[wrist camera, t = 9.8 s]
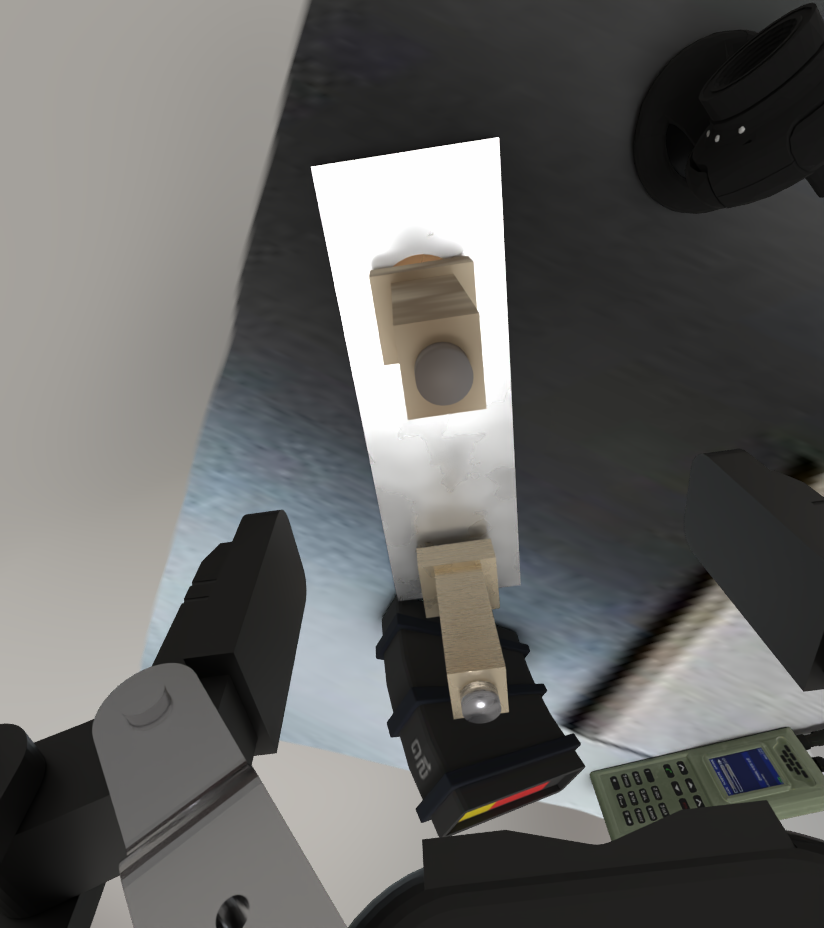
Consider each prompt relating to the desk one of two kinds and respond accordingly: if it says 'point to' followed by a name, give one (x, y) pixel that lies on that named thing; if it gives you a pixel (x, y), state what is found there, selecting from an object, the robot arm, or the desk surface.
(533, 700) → the black boxy piece
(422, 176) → the bolt-hole plate
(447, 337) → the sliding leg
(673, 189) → the webcam
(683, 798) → the handheld radio
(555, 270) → the desk surface
